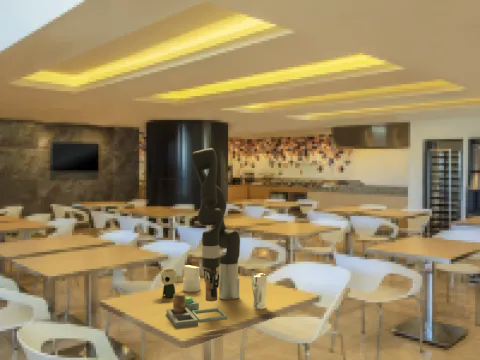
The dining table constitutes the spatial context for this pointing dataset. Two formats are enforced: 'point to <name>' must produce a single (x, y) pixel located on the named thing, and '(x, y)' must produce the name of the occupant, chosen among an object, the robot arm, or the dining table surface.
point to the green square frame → (210, 317)
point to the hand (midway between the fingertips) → (211, 295)
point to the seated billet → (178, 303)
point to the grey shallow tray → (182, 318)
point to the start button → (188, 300)
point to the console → (192, 305)
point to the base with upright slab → (191, 278)
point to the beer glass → (259, 290)
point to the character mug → (169, 281)
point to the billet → (209, 291)
